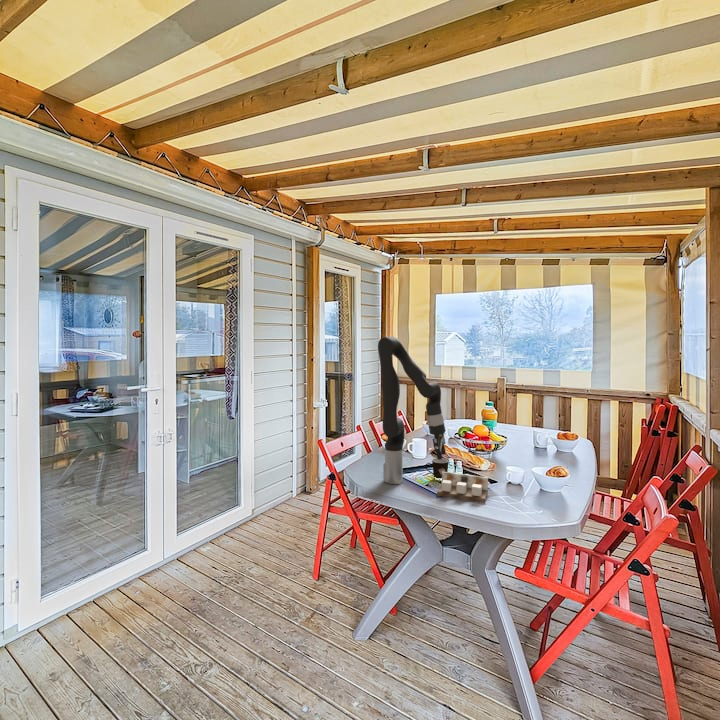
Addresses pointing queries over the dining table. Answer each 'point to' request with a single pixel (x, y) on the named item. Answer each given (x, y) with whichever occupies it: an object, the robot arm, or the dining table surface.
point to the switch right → (476, 490)
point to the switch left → (446, 485)
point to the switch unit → (470, 481)
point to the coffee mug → (438, 467)
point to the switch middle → (461, 487)
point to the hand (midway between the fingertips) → (441, 456)
